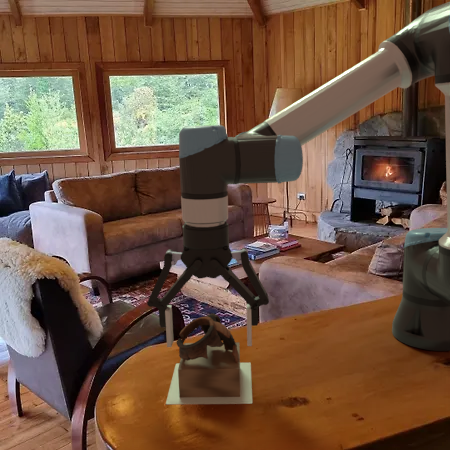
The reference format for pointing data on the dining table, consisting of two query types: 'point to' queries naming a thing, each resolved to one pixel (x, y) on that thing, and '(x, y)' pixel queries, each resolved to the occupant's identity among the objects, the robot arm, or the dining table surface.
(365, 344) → the dining table surface
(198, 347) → the pottery mug
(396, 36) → the robot arm
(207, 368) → the walnut block
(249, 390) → the build board
